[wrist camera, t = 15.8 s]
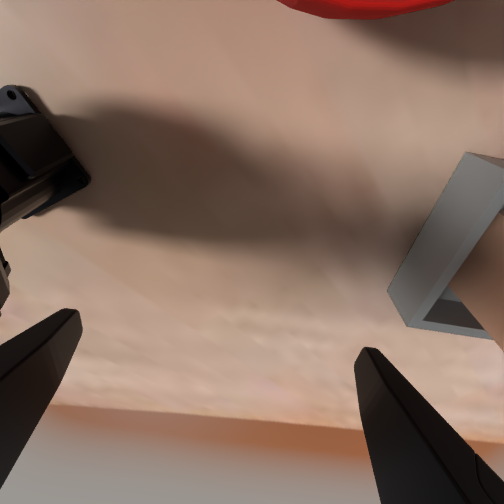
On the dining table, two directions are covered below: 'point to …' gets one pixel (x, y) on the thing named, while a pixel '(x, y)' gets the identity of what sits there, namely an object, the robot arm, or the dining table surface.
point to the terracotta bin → (485, 280)
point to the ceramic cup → (360, 7)
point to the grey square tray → (449, 249)
